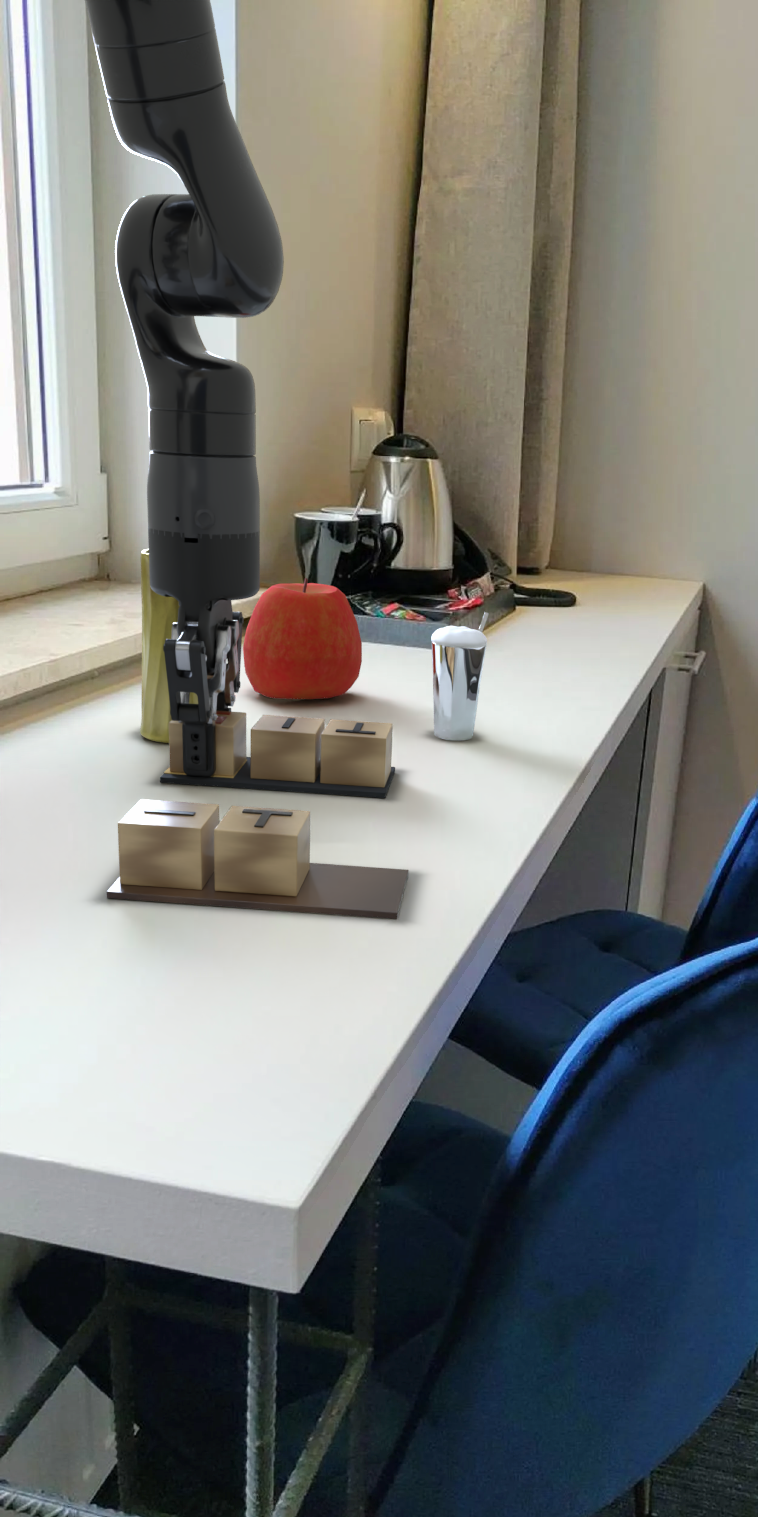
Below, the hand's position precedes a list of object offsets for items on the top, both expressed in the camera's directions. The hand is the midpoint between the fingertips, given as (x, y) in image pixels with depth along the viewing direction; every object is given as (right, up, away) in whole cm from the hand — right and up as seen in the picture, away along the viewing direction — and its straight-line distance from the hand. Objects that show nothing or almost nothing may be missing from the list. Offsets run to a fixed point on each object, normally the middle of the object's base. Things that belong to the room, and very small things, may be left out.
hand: (208, 764), depth 97 cm
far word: (+5, -1, 0) cm, 5 cm away
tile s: (0, 0, 0) cm, 0 cm away
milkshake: (+18, +4, +15) cm, 24 cm away
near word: (+7, -9, -21) cm, 24 cm away
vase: (-4, +3, +10) cm, 11 cm away
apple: (+4, +9, +25) cm, 27 cm away
